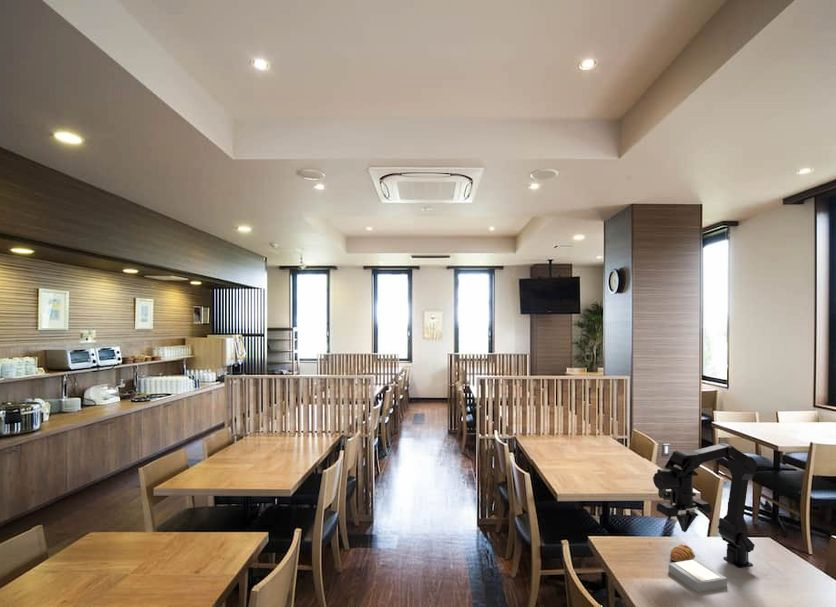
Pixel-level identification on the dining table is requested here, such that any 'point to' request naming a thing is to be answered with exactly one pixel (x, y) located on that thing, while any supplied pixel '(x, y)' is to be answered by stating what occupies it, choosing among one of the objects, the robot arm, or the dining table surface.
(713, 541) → the dining table surface
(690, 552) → the pastry
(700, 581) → the plinth
